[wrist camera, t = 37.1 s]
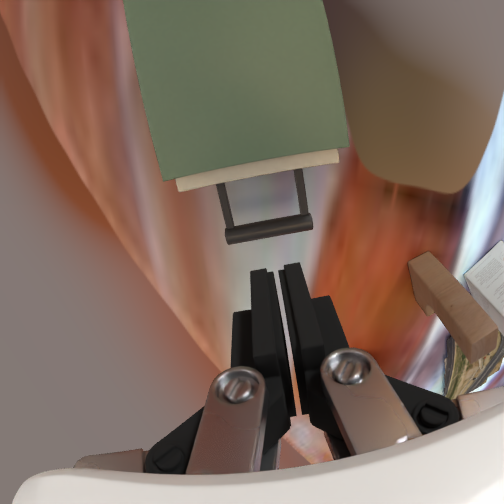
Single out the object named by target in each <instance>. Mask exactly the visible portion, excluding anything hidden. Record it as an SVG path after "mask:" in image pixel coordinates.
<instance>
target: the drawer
mask: <svg viewBox="0 0 504 504" xmlns="http://www.w3.org/2000/svg"><path fill="white" fill-rule="evenodd" d="M333 163H339V155H338V148H337V149H330V150H322V151H315V152H309V153H302V154H296V155H290V156H284V157H278V158H272V159H266V160H261V161H256V162H250V163H245V164H240V165H235V166H230V167H225V168H220V169H216V170H211V171H206V172H202V173H197V174H193V175H189V176H184V177H180V178H176V179H175V180H176V184H177V187H178V191H179V192H183V191H187V190H192V189H196V188H201V187H205V186H210V185H215V184H216V186H217V190H218V195H219V199H220V203H221V207H222V211H223V215H224V220H225V224H226V228H225V237H226V241H227V244H228V245H231V244H236V243H242V242H247V241H252V240H258V239H263V238H269V237H274V236H280V235H285V234H291V233H296V232H302V231H308V230H312V229H313V221H312V216H311V214H310V213H308V206H307V198H306V191H305V184H304V178H303V171H302V168H307V167H313V166H320V165H326V164H333ZM288 170H294V175H295V182H296V188H297V195H298V201H299V208H300V214H298V215H293V216H287V217H282V218H276V219H271V220H265V221H260V222H254V223H249V224H244V225H238V226H234V222H233V218H232V213H231V209H230V205H229V200H228V196H227V191H226V187H225V183H224V182H229V181H234V180H239V179H244V178H250V177H255V176H260V175H266V174H271V173H277V172H283V171H288Z"/></svg>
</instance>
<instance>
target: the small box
mask: <svg viewBox="0 0 504 504" xmlns="http://www.w3.org/2000/svg"><path fill="white" fill-rule="evenodd" d="M464 277H465V280H466V282H467V285H468V287H469V290H470V292H471V295H472V297H473V298H474V299H475V300H476V301H477V303H478V304H479V305H480V306H481V307H482V308H483V309H484V311H485V312H486V313H487V314H488V315H489V316H490V318H491V319H492V320H493V321H494V322H495V323H496V325H497V326H498V330H499V331H500V332H501V333H502V335H503V336H504V242H503V241H501V240H500V241H499V242H498V243H497V244H496V245H495V246H494V247H493V248H492V249H491V250H490V251H489V252H488V253H487V254H486V255H485V256H484V257H483V258H482V259H481V260H480V261H479V262H477V263H476V264H475V265H474V266H473V267H472V268H471V269H470V270H469V271H468V272H466V273H465V274H464Z"/></svg>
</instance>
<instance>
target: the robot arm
mask: <svg viewBox="0 0 504 504" xmlns="http://www.w3.org/2000/svg"><path fill="white" fill-rule="evenodd" d="M278 272H279V278H280V283H281V289H282V295H283V301H284V307H285V313H286V319H287V325H288V331H289V337H290V342H291V348H292V354H293V360H294V367H295V373H296V379H297V385H298V391H299V397H300V404H301V410H302V415H304V414H309V417H310V423H312V425H313V426H315V427H317V428H319V429H321V430H323V431H324V435H325V438H326V441H327V443H328V446H329V448H330V451H331V454H332V456H333V459H334V460H333V461H328V462H323V463H318V464H312V465H306V466H300V467H294V468H287V469H280V470H279V461H280V450H281V437H282V436H283V435H284V434H285V433H286V432H287V431H288V430H289V429H290V426H291V422H290V417H293V416H297V415H296V408H295V401H294V394H293V387H292V380H291V373H290V367H289V360H288V353H287V347H286V340H285V334H284V328H283V323H282V317H281V311H280V306H279V300H278V295H277V289H276V284H275V278H274V273H273V272H267V269H266V268H265V269H260V270H254V271H250V281H251V310H245V311H239V312H234V313H233V325H232V348H231V368H230V369H227V370H225V371H223V372H222V373H220V374H219V375H218V376H217V377H216V378H215V379H214V380H213V382H212V384H211V386H210V389H209V392H208V396H207V400H206V403H205V406H204V407H202V408H201V409H200V410H199V411H198V412H196V413H195V414H194V415H193V416H191V417H190V418H189V419H187V420H186V421H185V422H184V423H182V424H181V425H180V426H179V427H177V428H176V429H175V430H173V431H172V432H171V433H169V434H168V435H167V436H166V437H164V438H163V439H162V440H160V441H159V442H158V443H156V444H155V445H154V446H153V447H152V448H151V449H150V450H149V451H143V449H135V450H129V451H122V452H115V453H107V454H99V455H89V456H85V457H82V458H81V459H80V460H78V461H77V462H76V464H75V465H74V467H73V468H64V469H56V470H51V471H46V472H42V473H39V474H37V475H34V476H32V477H30V478H29V479H27V480H26V481H25V482H24V483H23V484H22V485H21V487H20V488H19V490H18V491H17V494H16V495H15V497H14V500H13V502H12V504H504V386H501V387H497V388H493V389H488V390H483V391H478V392H473V393H468V394H462V395H457V397H456V399H452V400H450V399H449V398H447V397H445V396H442V395H440V394H437V393H434V392H431V391H428V390H425V389H422V388H420V387H417V386H414V385H411V384H408V383H406V382H403V381H400V380H398V379H395V378H392V377H390V376H387V375H384V373H383V372H382V370H381V369H380V367H379V365H378V364H377V362H376V361H375V359H374V358H373V357H372V356H371V355H370V354H369V353H368V352H366V351H364V350H362V349H358V348H349V345H348V342H347V340H346V337H345V334H344V332H343V329H342V326H341V324H340V321H339V318H338V316H337V313H336V310H335V308H334V305H333V303H332V300H331V298H330V296H329V295H328V296H323V297H318V298H313V299H311V297H310V294H309V291H308V288H307V284H306V281H305V278H304V275H303V271H302V268H301V265H300V262H299V263H293V264H288V265H284V270H278Z"/></svg>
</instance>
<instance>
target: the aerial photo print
mask: <svg viewBox="0 0 504 504" xmlns="http://www.w3.org/2000/svg"><path fill="white" fill-rule="evenodd" d="M447 355H448V357H447V358H445V375H444V377H445V388H444V394H445V397H447V398H449V399H450V400H452V399H456V397H457V395H462V394H468V393H469V392H471V391H473V390H474V389H476V388H478V387H479V386H481V385H482V384H484V383H486V380H487V377H489V376H490V375H492V374H494V373H495V372H497V371H498V370H499V369H500V366H501V363H502V359H503V357H504V336H503V335H502V333H501V332H500V331H499V330H498V337H497V346H496V348H495V349H494V350H493V351H491V352H490V353H488V354H487V355H485V356H484V357H482V358H480V359H479V360H477V361H476V362H474V363H472V364H470V363H469V361H468V360H467V358H466V357H465V355H464V354H463V352H462V350H461V349H460V347H459V346H458V345H457V343H456V342H455V340H454V339H453V337H452V336H451V337H450V338H449V339H447Z"/></svg>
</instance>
